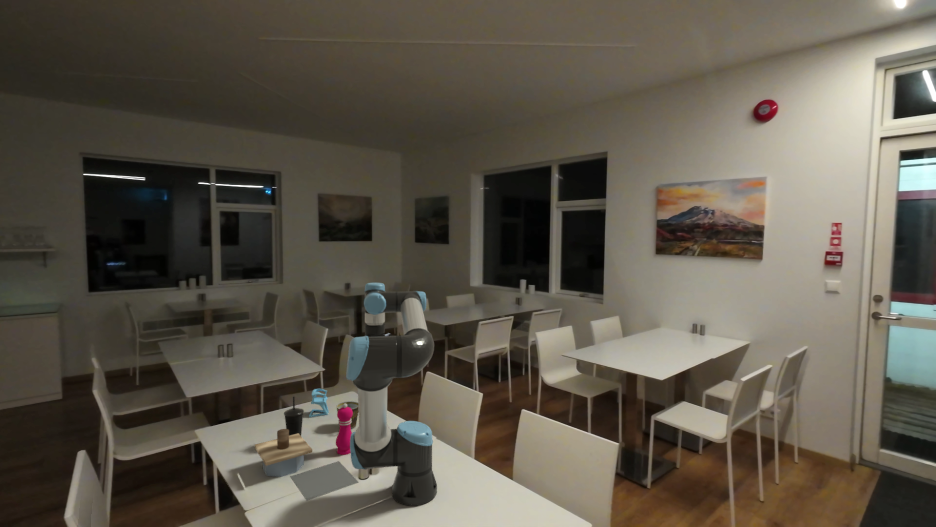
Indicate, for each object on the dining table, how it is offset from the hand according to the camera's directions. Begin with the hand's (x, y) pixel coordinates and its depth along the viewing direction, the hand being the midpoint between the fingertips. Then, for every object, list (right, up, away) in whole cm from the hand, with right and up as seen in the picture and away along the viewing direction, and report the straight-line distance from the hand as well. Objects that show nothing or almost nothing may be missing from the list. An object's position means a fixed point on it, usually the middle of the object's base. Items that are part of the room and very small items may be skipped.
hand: (374, 377), depth 174 cm
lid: (-32, -25, -8) cm, 41 cm away
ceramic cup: (-17, -30, +27) cm, 44 cm away
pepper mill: (-13, -31, +5) cm, 34 cm away
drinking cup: (-36, -31, +12) cm, 48 cm away
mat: (-15, -33, -15) cm, 39 cm away
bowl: (-32, -32, -7) cm, 46 cm away
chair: (-35, -28, +42) cm, 62 cm away
